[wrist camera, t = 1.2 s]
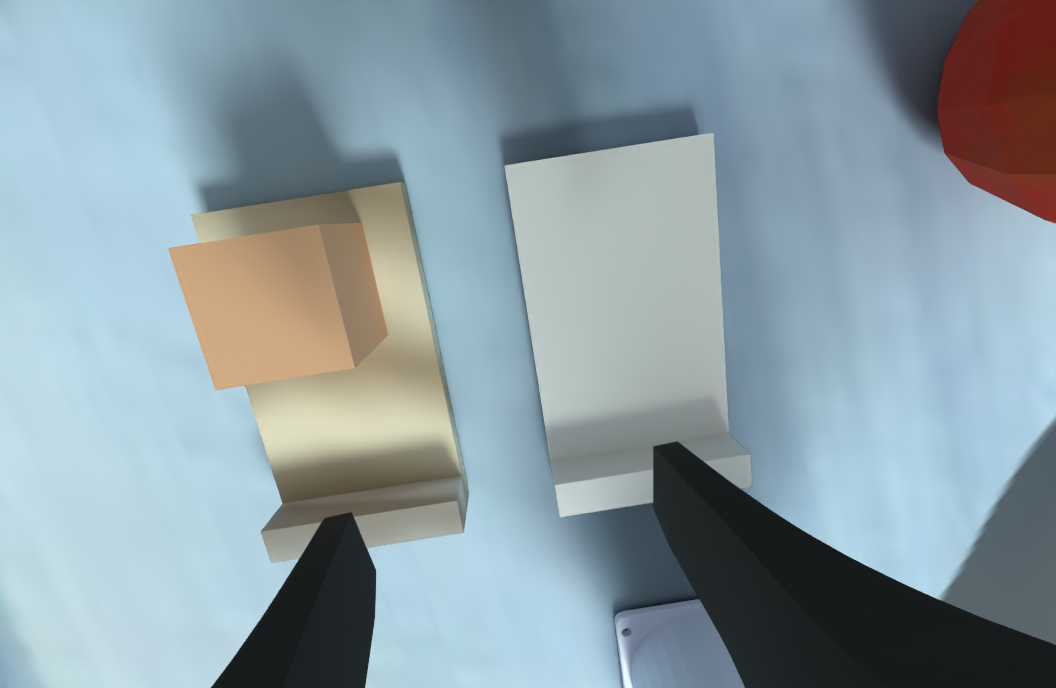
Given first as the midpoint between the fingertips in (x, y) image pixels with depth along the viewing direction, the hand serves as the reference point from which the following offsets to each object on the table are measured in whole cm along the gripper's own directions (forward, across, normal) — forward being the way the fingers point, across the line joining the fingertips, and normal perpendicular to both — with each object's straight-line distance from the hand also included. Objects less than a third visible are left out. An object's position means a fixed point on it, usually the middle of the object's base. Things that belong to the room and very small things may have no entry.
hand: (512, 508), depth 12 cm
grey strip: (+10, -6, +1) cm, 12 cm away
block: (+11, +6, -3) cm, 13 cm away
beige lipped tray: (+11, +6, +1) cm, 13 cm away
